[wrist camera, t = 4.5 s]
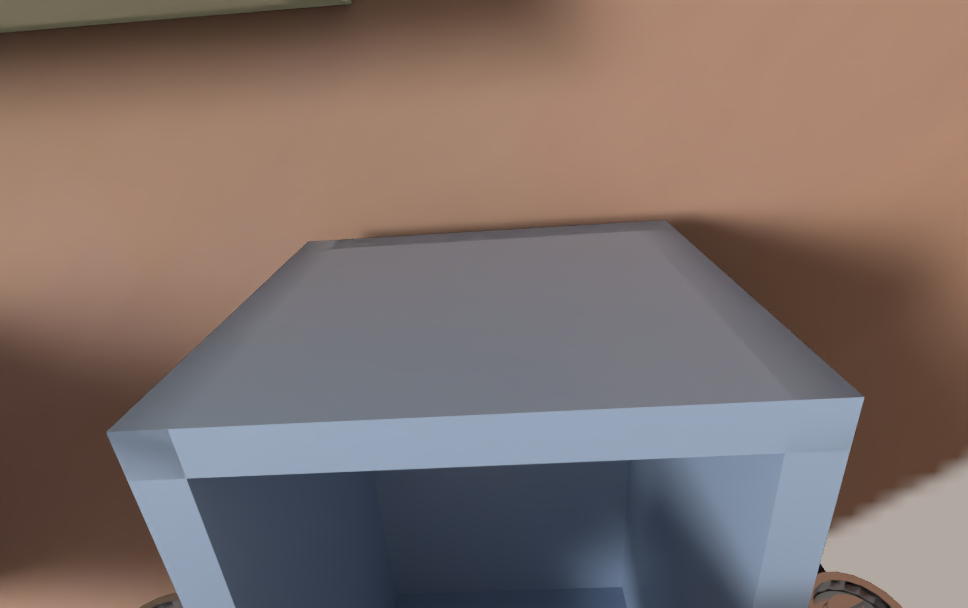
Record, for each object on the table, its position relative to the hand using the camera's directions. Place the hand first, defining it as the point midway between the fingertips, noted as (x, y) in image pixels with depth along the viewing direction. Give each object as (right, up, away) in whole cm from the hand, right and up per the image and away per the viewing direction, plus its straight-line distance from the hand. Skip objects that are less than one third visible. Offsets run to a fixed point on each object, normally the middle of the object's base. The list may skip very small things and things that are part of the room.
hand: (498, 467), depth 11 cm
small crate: (0, 0, +1) cm, 1 cm away
